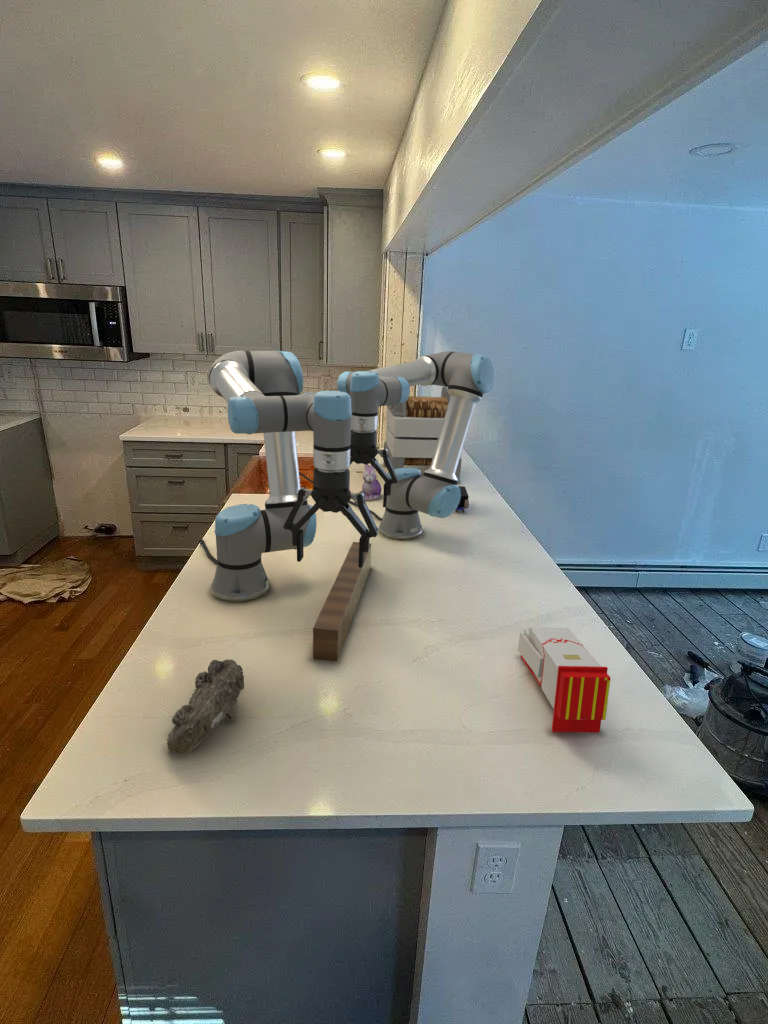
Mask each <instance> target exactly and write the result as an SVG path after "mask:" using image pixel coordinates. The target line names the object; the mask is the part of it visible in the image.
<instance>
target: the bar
mask: <svg viewBox="0 0 768 1024" xmlns="http://www.w3.org/2000/svg"><path fill="white" fill-rule="evenodd" d="M371 563H372V543H371V542H370V543H369V550H368V552H364V564H363V566H362V568H360V567H359V541H353V542H352V543H351V546H350V548H349V550H348V552H347V554H346V557H345V558H344V561H343V562H342V564H341V566H340V569H339V572H338V573H337V576H336V578H335V579H334V582H333V584H332V586H331V589H330V591H329V593H328V595H327V597H326V599H325V601H324V603H323V606H322V608H321V609H320V612H319V614H318V617H317V618H316V621H315V623H314V625H313V627H312V659H313V660H317V661H326V662H327V661H328V662H337V663H338V661H339V658H340V656H341V653H342V650H343V647H344V644H345V642H346V639H347V636H348V633H349V630H350V627H351V624H352V621H353V619H354V615H355V613H356V610H357V607H358V605H359V601H360V598H361V597H362V596H361V595H362V593H363V591H364V588H365V585H366V581H367V579H368V576H369V573H370V570H371V568H372V567H371V566H372V564H371Z"/></svg>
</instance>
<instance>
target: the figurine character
mask: <svg viewBox="0 0 768 1024" xmlns="http://www.w3.org/2000/svg"><path fill="white" fill-rule="evenodd" d="M457 486H458V487H459V488H460V491H461V493H460V494H461V498H460V502H459V504H458V506H457V508H456V510H455V511H454V512H456V513H458V510H461V511H462V513H465V509H469V506H470V500H469V498H470V496H469V494H468V491H467V488H466V486H461V485H457Z"/></svg>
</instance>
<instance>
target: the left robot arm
mask: <svg viewBox="0 0 768 1024" xmlns="http://www.w3.org/2000/svg"><path fill="white" fill-rule="evenodd" d="M208 382H209V385H210V388H211V389H212V390H213V392H214V393H215V394H216V395H217V396H219V397H221V398H222V399H224V401H225V402H226V403H227V406H226V407H227V409H226V410H227V421H228V424H229V428H230V431H231V432H233V433H234V434H238V435H239V434H240V435H241V434H243V435H244V434H246V435H253V434H255V435H256V434H263V441H264V443H263V444H264V452H265V461H266V462H265V463H266V472H267V483H268V492H269V496H268V498H267V499H266V501H265V502H264V508H265V509H260V507H259V506H258V505H256V504H252V503H249V504H247V503H241V504H235V505H231V506H229V507H226V508H224V509H222V510H221V511H219V512H218V513H217V515H216V516H215V519H214V535H215V545H216V547H215V548H216V558H215V557H214V556H213V555H212V554H211V552H210V550H209V548H208V546H207V544H206V541H204V539H202V538H200V539H199V540H198V543H199V544H201V545H202V547H203V549H204V551H205V553H206V555H207V557H208V558H209V559H210V560H211V561H212V562H214V563H215V564H217V566H216V569H215V573H214V577H213V580H212V583H211V593H212V595H213V596H214V598H216V599H217V600H221V601H224V602H228V603H244V602H250V601H254V600H256V599H259V598H261V597H263V596H265V595H266V594H267V593H268V591H269V589H270V578H269V577H268V575H267V572H266V570H265V568H264V565H263V563H262V554H266V553H274V552H281V551H288V550H296V562H298V563H299V562H301V561H302V560H303V558H304V557H305V555H304V552H305V551H304V548H307V547H309V546H311V545H312V544H313V542H314V540H315V537H316V533H317V525H318V524H317V512H318V511H319V510H321V511H322V512H323V513H327V512H331V513H334V514H335V513H337V514H338V513H339V512H341V514H342V515H343V516H344V517H345V518H346V519H347V520H348V521H349V523H351V525H352V526H353V527H354V528H355V530H356V531H357V532H358V533H359V534H360V537H359V539H358V542H359V567H360V568H362V566H363V564H364V552H368V550H369V543H371V538H377V536H378V534H379V527H378V526H377V524H376V522H375V519H374V517H373V514H372V513H370V511H369V510H370V509H369V507H368V504H367V502H366V500H365V494H364V492H363V491H362V490H360V491H359V492H351V490H350V489H351V488H350V482H351V480H350V479H351V470H350V469H349V468H350V467H351V464H350V439H351V430H352V429H351V415H352V409H351V397H350V395H349V394H348V393H345V392H340V391H338V390H320V391H317V392H304V393H303V391H304V375H303V370H302V367H301V364H300V361H299V359H298V357H297V356H296V355H295V354H294V353H293V352H291V351H283V350H278V349H277V350H234V351H233V350H232V351H230V352H226V353H224V354H222V355H221V356H219V357H218V358H216V359H215V360H214V362H213V363H212V364H211V366H210V368H209V371H208ZM296 432H312V434H313V435H312V437H313V438H312V439H313V441H312V442H313V444H312V445H313V447H312V448H313V451H312V453H313V454H312V456H313V459H312V460H313V461H312V462H313V467H314V469H313V470H312V471H313V473H312V474H313V476H312V478H313V479H312V481H313V483H312V484H313V486H312V487H313V488H312V489H309V488H307V487H306V486H301V478H300V476H301V475H300V474H299V472H300V467H299V466H300V465H299V460H298V459H299V457H298V456H299V455H298V447H297V435H296ZM310 496H311V498H312V500H313V501H314V502H315V503H314V504H313V505H311V504H309V503H308V502H309V501H308V499H309V497H310ZM351 500H353V502H354V503H356V504H358V506H357V507H358V510H359V512H360V514H361V516H362V518H363V520H364V522H363V521H362V519H360V517H359V516H358V514H357V513H356V512H355V511H354V510H353V508H352V506H351V505H350V503H349V501H351ZM364 523H365V524H364ZM201 542H202V543H201Z"/></svg>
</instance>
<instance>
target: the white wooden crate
mask: <svg viewBox="0 0 768 1024" xmlns="http://www.w3.org/2000/svg"><path fill="white" fill-rule="evenodd" d="M447 389H448V387H445V386H441V392H440V393H441V394H440V396H415V395H414V396H413V395H412V396H411V395H409V397H408V399H407V400H406V401H405V402H404V403H400V404H397V405H387V406H386V413H385V414H386V415H385V423H386V428H385V438H384V442H383V449H384V448H387V449H388V457H389V459H390V461H391V463H392V466H393V468H394V469H398V468H405V466H406V467H407V466H411V467H412V466H413V467H415V466H416V467H417V466H418V467H430V466H431V462H432V459H433V455H434V452H435V448H436V445H437V441H438V438H439V434H440V431H441V427H442V424H443V420H444V417H445V413H446V410H447V406H448V403H449V399H450V395H449V393H448V391H447ZM462 453H463V451H462V452H461V454H462ZM462 461H463V460H462V455H461V456H460V459H459V463H458V466H457V469H456V473H455V476H456V478H457V479H458V483H457V484H459V483H461V472H462ZM383 466H384V467H386V465H385V463H384V462H383Z"/></svg>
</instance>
